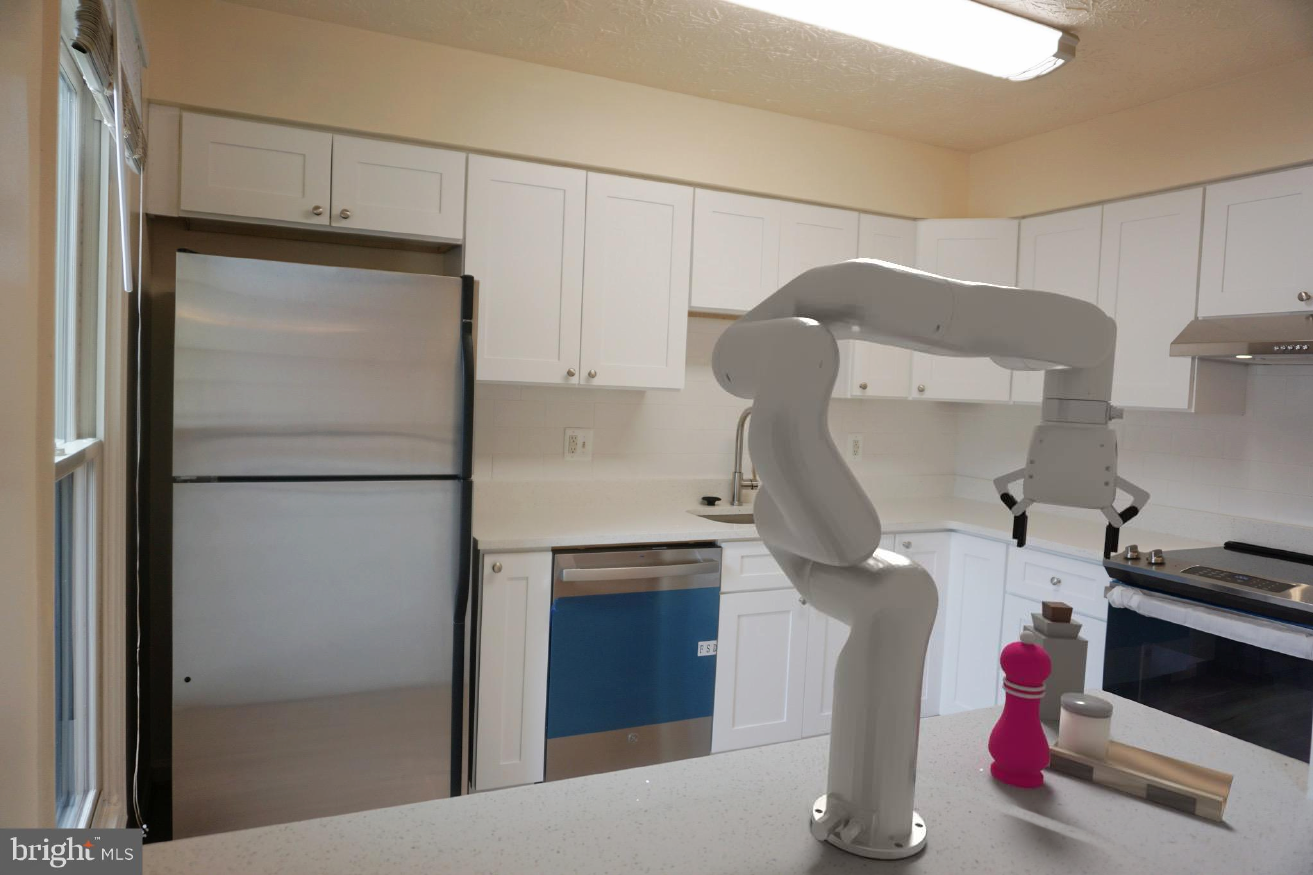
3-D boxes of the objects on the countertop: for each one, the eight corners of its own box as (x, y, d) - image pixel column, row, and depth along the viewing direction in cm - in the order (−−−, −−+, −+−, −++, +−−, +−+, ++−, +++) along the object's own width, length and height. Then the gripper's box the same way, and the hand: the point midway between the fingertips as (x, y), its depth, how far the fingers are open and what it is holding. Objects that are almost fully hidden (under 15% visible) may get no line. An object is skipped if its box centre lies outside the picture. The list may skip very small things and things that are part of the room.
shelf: (1219, 830, 93) (1222, 801, 93) (1036, 771, 106) (1039, 745, 106) (1232, 782, 105) (1235, 757, 105) (1067, 734, 118) (1069, 711, 118)
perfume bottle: (1080, 727, 121) (1090, 611, 120) (1036, 724, 121) (1045, 609, 120) (1059, 709, 128) (1068, 599, 127) (1017, 707, 128) (1025, 597, 127)
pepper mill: (1054, 801, 98) (1067, 642, 97) (992, 792, 99) (1004, 636, 98) (1038, 774, 105) (1050, 626, 104) (980, 766, 106) (991, 620, 105)
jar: (1102, 774, 104) (1107, 714, 103) (1051, 758, 108) (1055, 700, 107) (1112, 759, 108) (1117, 702, 108) (1062, 744, 112) (1067, 689, 112)
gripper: (1156, 419, 97) (1143, 558, 98) (1003, 411, 106) (993, 538, 107) (1157, 420, 90) (1144, 568, 91) (995, 410, 99) (984, 545, 100)
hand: (1063, 551), depth 99 cm, fingers open, 9 cm apart
